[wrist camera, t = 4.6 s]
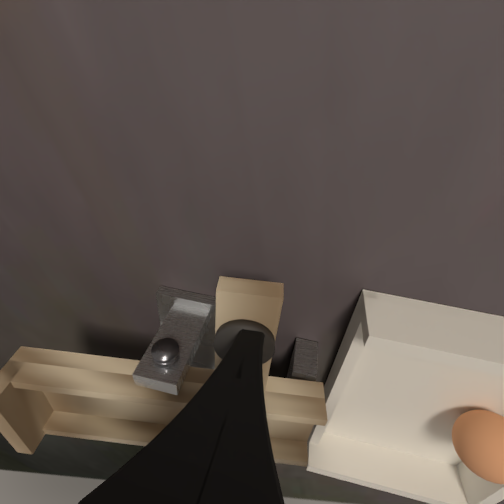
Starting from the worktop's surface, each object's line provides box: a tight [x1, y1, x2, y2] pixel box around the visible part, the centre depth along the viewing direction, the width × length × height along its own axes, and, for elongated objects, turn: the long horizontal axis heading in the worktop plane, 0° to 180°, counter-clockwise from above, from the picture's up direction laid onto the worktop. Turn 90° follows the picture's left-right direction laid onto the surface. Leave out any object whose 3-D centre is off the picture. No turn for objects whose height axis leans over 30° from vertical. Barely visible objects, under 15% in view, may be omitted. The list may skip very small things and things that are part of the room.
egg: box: [452, 410, 504, 484], centre depth 15 cm, size 3×3×3 cm
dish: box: [306, 289, 504, 504], centre depth 16 cm, size 10×13×3 cm
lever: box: [0, 276, 328, 466], centre depth 13 cm, size 15×11×3 cm
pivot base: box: [132, 286, 318, 395], centre depth 17 cm, size 9×8×5 cm
